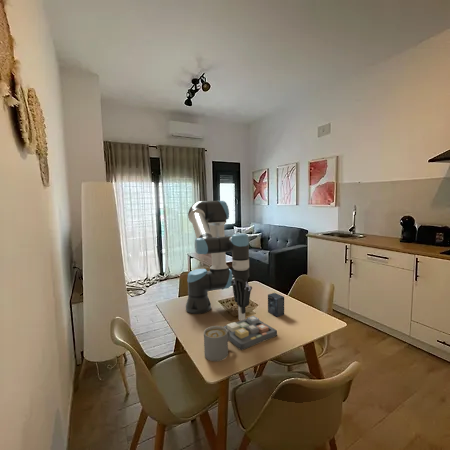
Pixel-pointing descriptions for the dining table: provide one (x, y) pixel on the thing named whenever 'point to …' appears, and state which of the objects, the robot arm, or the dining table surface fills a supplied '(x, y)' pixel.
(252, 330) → the key charcoal
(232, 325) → the key cream
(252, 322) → the key slate
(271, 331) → the keypad board
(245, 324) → the key sage
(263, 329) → the key terracotta
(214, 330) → the coffee mug
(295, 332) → the dining table surface
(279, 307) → the box
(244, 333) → the key ochre
